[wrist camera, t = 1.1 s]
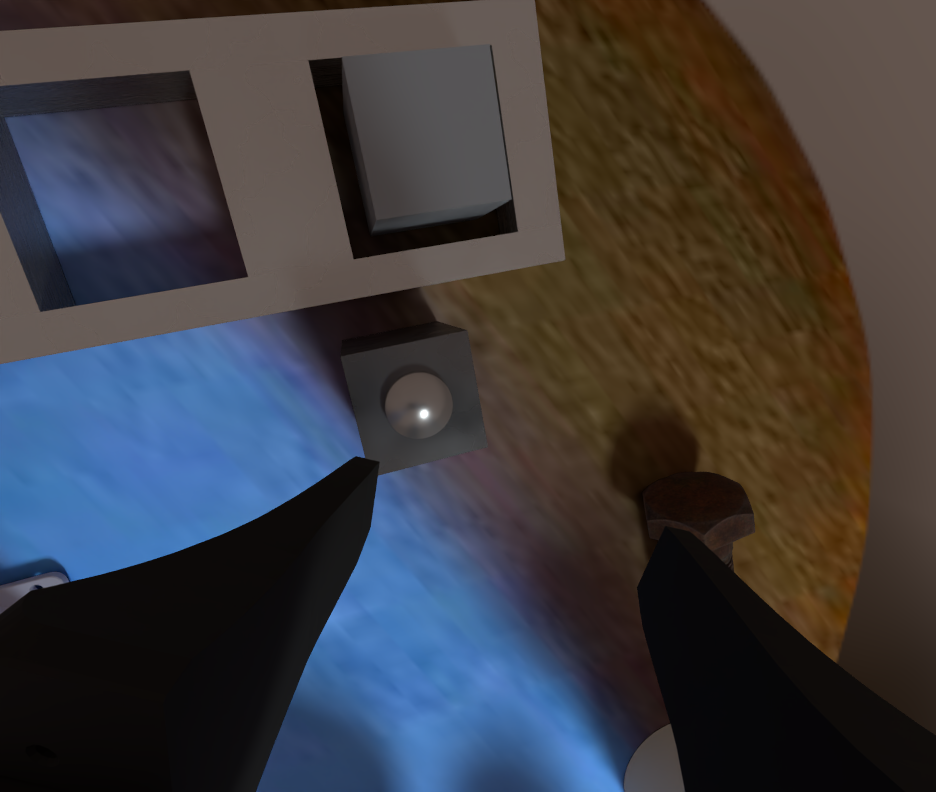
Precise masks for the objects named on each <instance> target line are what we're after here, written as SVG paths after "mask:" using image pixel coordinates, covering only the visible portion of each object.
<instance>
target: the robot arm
mask: <svg viewBox="0 0 936 792" xmlns="http://www.w3.org/2000/svg"><path fill="white" fill-rule="evenodd" d="M379 464H380V462H379V461H375V460H370V459H366V458H361V457H357V456H356V457H354V458H352V459H351V460H349V461H348V462H346V463H345V464H343V465H342V466H341V467H339V468H338V469H336V470H335V471H333V472H332V473H331V474H329V475H328V476H326V477H325V478H323V479H322V480H320V481H319V482H317V483H316V484H314V485H313V486H311V487H310V488H308V489H306V490H305V491H303V492H302V493H300V494H299V495H297V496H295V497H294V498H292V499H291V500H289V501H287V502H285V503H284V504H282V505H280V506H278V507H277V508H275V509H273V510H271V511H270V512H268V513H266V514H264V515H262V516H260V517H259V518H257V519H255V520H253V521H251V522H248V523H246V524H244V525H242V526H240V527H238V528H235V529H233V530H231V531H229V532H227V533H224V534H222V535H220V536H217V537H214V538H212V539H209V540H207V541H204V542H201V543H199V544H196V545H193V546H191V547H188V548H186V549H183V550H180V551H178V552H175V553H172V554H169V555H166V556H163V557H160V558H157V559H154V560H151V561H147V562H144V563H141V564H137V565H134V566H130V567H127V568H124V569H120V570H117V571H113V572H109V573H105V574H102V575H97V576H93V577H89V578H85V579H80V580H76V581H72V582H69V581H68V578H67V577H66V576H65V575H64V574H62V573H60V572H49V573H45V574H42V575H38V576H34V577H30V578H27V579H23V580H19V581H15V582H11V583H8V584H4V585H0V792H256V790H257V787H258V784H259V782H260V779H261V777H262V774H263V771H264V769H265V766H266V763H267V761H268V758H269V755H270V753H271V750H272V748H273V745H274V743H275V740H276V738H277V735H278V733H279V730H280V727H281V725H282V722H283V720H284V717H285V715H286V712H287V710H288V707H289V705H290V702H291V700H292V697H293V695H294V692H295V690H296V687H297V685H298V682H299V680H300V678H301V675H302V673H303V670H304V668H305V665H306V663H307V661H308V658H309V656H310V654H311V652H312V650H313V648H314V646H315V644H316V642H317V640H318V638H319V636H320V634H321V632H322V630H323V628H324V626H325V624H326V622H327V620H328V618H329V617H330V615H331V613H332V611H333V609H334V607H335V605H336V603H337V601H338V599H339V597H340V595H341V593H342V592H343V590H344V588H345V586H346V584H347V582H348V580H349V578H350V576H351V574H352V572H353V570H354V568H355V566H356V564H357V562H358V559H359V557H360V554H361V551H362V549H363V546H364V544H365V541H366V538H367V535H368V533H369V530H370V527H371V520H372V513H373V506H374V499H375V492H376V485H377V478H378V471H379ZM35 585H40V586H42V587H43V588H41V589H37V588H36V587H35ZM637 590H638V598H639V606H640V613H641V619H642V625H643V630H644V633H645V637H646V641H647V644H648V648H649V651H650V655H651V658H652V662H653V665H654V669H655V672H656V676H657V679H658V683H659V686H660V689H661V693H662V696H663V700H664V703H665V707H666V710H667V713H668V717H669V720H670V724H671V727H672V731H673V735H674V739H675V743H676V747H677V752H678V758H679V763H680V768H681V773H682V779H683V784H684V789H685V792H936V735H934V734H933V733H931V732H930V731H928V730H927V729H925V728H924V727H922V726H921V725H919V724H918V723H916V722H915V721H914V720H912V719H911V718H909V717H908V716H906V715H905V714H904V713H902V712H901V711H899V710H898V709H897V708H895V707H894V706H892V705H891V704H889V703H888V702H887V701H885V700H884V699H882V698H881V697H879V696H878V695H877V694H875V693H874V692H873V691H871V690H870V689H869V688H867V687H866V686H865V685H863V684H862V683H861V682H859V681H858V680H857V679H855V678H854V677H852V675H850V674H849V673H848V672H846V671H845V670H844V669H843V668H841V667H840V666H839V665H838V664H836V663H835V662H834V661H833V660H831V659H830V658H829V657H828V656H826V655H825V654H824V653H823V652H821V651H820V650H819V649H818V648H817V647H815V646H814V645H813V644H812V643H810V642H809V641H808V640H807V639H806V638H805V637H803V636H802V635H801V634H800V633H799V632H798V631H797V630H796V629H794V628H793V627H792V626H791V625H790V624H789V623H788V622H786V621H785V620H784V619H783V618H782V617H781V616H780V615H779V614H777V613H776V612H775V611H774V610H773V609H772V608H771V607H770V606H769V605H768V604H767V603H766V602H764V601H763V600H762V599H761V598H760V597H759V596H758V595H757V594H756V593H755V592H754V591H753V590H752V589H751V588H750V587H749V586H748V585H747V584H746V583H744V582H743V581H742V580H741V579H740V578H739V577H738V576H737V575H736V574H735V573H734V572H733V571H732V570H731V569H730V568H729V567H728V566H727V565H726V564H725V563H724V562H723V561H722V560H721V559H720V558H719V557H718V556H717V555H716V554H715V553H714V552H712V551H711V550H710V549H709V548H708V547H707V546H706V545H705V544H704V543H703V542H702V541H701V540H700V539H698V538H697V537H696V536H695V535H694V534H692V533H691V532H690V531H686V530H682V529H677V528H673V527H668V526H665V528H664V530H663V532H662V534H661V536H660V539H659V541H658V543H657V545H656V547H655V549H654V552H653V554H652V556H651V558H650V560H649V563H648V565H647V567H646V569H645V571H644V574H643V576H642V578H641V580H640V582H639V584H638V587H637Z"/></svg>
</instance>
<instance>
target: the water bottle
mask: <svg viewBox="0 0 936 792" xmlns="http://www.w3.org/2000/svg"><path fill="white" fill-rule="evenodd" d="M624 790H625V792H685V789H684V784H683V779H682V773H681V768H680V763H679V758H678V752H677V747H676V743H675V739H674V735H673V731H672V727H671V724H668V725H666V726H664V727H662V728H661V729H659V730H657V731H656V732H654V733H653V734H652V735H651V736H649V737H648V738H647V739H646V740H645V741H644V742H643V743H642V744H641V745H640V746H639V748H638V749H637V750H636V752H635V753H634V754H633V756H632V758H631V760H630V762H629V764H628V766H627V769H626V772H625V777H624Z"/></svg>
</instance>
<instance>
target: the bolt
mask: <svg viewBox="0 0 936 792" xmlns="http://www.w3.org/2000/svg"><path fill="white" fill-rule="evenodd" d="M642 494H643V501H644V507H645V513H646V519H647V525H648V531H649V537H650V538H652V539H655V540H659V539H660V536H661V534H662V532H663V530H664V528H665V526H668V527H673V528H677V529H682V530H686V531H690V532H691V533H692V534H694V535H695V536H696V537H697V538H698V539H700V540H701V541H702V542H703V543H704V544H705V545H706V546H707V547H708V548H709V549H710V550H711V551H712V552H714V553H715V554H716V555H717V556H718V557H719V558H720V559H721V560H722V561H723V562H724V563H725V564H726V565H727V566H728V567H729V568H730V569H731V570H732V571H733V572H734V569H733V560H732V549H733V542H734V541H736V540H738V539H741V538H743V537H745V536H747V535H750V534H752V533H754V532H755V524H754V514H753V511H752V508H751V505H750V502H749V499H748V497H747V495H746V493H745V491H744V489H743V488H742V486H741V485H740V484H739V483H737V482H735V481H733V480H731V479H729V478H726V477H724V476H721V475H719V474H715V473H710V472H685V473H677V474H673V475H671V476H668V477H666V478H663V479H660V480H658V481H656V482H654V483H652V484H651V485H650V486H648V487H647V488H646V489H645V490H644V491H643V492H642Z"/></svg>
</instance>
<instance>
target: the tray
mask: <svg viewBox="0 0 936 792" xmlns="http://www.w3.org/2000/svg"><path fill="white" fill-rule="evenodd" d="M485 44H490V51H491V58H492V65H493V72H494V79H495V86H496V93H497V100H498V107H499V114H500V121H501V128H502V135H503V142H504V149H505V156H506V163H507V170H508V177H509V184H510V191H511V198H512V199H511V200H509V201H508V202H506V203H504V204H503V205H501V206H499V207H497V208H496V210H497V217H498V223H499V230H500V235H497V236H491V237H485V238H479V239H473V240H467V241H461V242H455V243H449V244H443V245H437V246H431V247H425V248H419V249H413V250H407V251H401V252H395V253H389V254H383V255H377V256H371V257H365V258H359V259H353V255H352V250H351V246H350V242H349V237H348V233H347V228H346V224H345V220H344V215H343V211H342V206H341V202H340V198H339V193H338V189H337V184H336V180H335V176H334V171H333V167H332V163H331V158H330V154H329V149H328V145H327V141H326V136H325V132H324V127H323V123H322V119H321V114H320V110H319V105H318V101H317V97H316V92H315V88H316V87H327V86H337V85H342V57H344V56H356V55H368V54H379V53H391V52H403V51H414V50H426V49H438V48H449V47H461V46H473V45H485ZM190 99H198V102H199V106H200V109H201V113H202V116H203V120H204V123H205V127H206V130H207V134H208V137H209V141H210V144H211V148H212V151H213V155H214V158H215V162H216V165H217V169H218V172H219V176H220V179H221V183H222V186H223V190H224V194H225V197H226V201H227V204H228V208H229V211H230V215H231V218H232V222H233V225H234V229H235V232H236V236H237V239H238V243H239V246H240V250H241V253H242V257H243V260H244V264H245V267H246V271H247V274H248V277H246V278H240V279H234V280H228V281H222V282H216V283H210V284H204V285H198V286H192V287H186V288H180V289H174V290H168V291H162V292H157V293H151V294H145V295H139V296H133V297H127V298H121V299H115V300H109V301H103V302H97V303H91V304H85V305H79V306H76V305H75V303H74V300H73V297H72V295H71V292H70V289H69V287H68V284H67V282H66V279H65V276H64V274H63V271H62V268H61V266H60V263H59V261H58V258H57V255H56V253H55V250H54V247H53V245H52V242H51V240H50V237H49V234H48V232H47V229H46V226H45V224H44V221H43V219H42V216H41V213H40V211H39V208H38V205H37V203H36V200H35V198H34V195H33V192H32V190H31V187H30V184H29V182H28V179H27V177H26V174H25V171H24V169H23V166H22V163H21V161H20V158H19V156H18V153H17V150H16V148H15V145H14V142H13V140H12V137H11V135H10V132H9V129H8V127H7V124H6V121H5V119H4V117H11V116H21V115H32V114H42V113H53V112H63V111H74V110H85V109H95V108H106V107H116V106H127V105H137V104H148V103H158V102H169V101H179V100H190ZM563 260H565V254H564V245H563V237H562V228H561V220H560V212H559V203H558V195H557V186H556V178H555V169H554V161H553V152H552V144H551V135H550V127H549V118H548V110H547V102H546V93H545V85H544V76H543V68H542V59H541V51H540V42H539V34H538V25H537V17H536V8H535V0H479V1H463V2H447V3H432V4H416V5H400V6H385V7H369V8H353V9H338V10H322V11H306V12H291V13H275V14H259V15H243V16H228V17H212V18H196V19H181V20H165V21H149V22H134V23H118V24H102V25H87V26H71V27H55V28H40V29H24V30H8V31H0V364H3V363H8V362H14V361H19V360H25V359H30V358H36V357H41V356H46V355H52V354H57V353H63V352H68V351H74V350H79V349H84V348H90V347H95V346H101V345H106V344H112V343H117V342H123V341H128V340H133V339H139V338H144V337H150V336H155V335H161V334H166V333H171V332H177V331H182V330H188V329H193V328H199V327H204V326H209V325H215V324H220V323H226V322H231V321H237V320H242V319H248V318H253V317H258V316H264V315H269V314H275V313H280V312H286V311H291V310H296V309H302V308H307V307H313V306H318V305H324V304H329V303H334V302H340V301H345V300H351V299H356V298H362V297H367V296H373V295H378V294H383V293H389V292H394V291H400V290H405V289H411V288H416V287H421V286H427V285H432V284H438V283H443V282H449V281H454V280H459V279H465V278H470V277H476V276H481V275H487V274H492V273H498V272H503V271H508V270H514V269H519V268H525V267H530V266H536V265H541V264H546V263H552V262H557V261H563Z"/></svg>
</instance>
